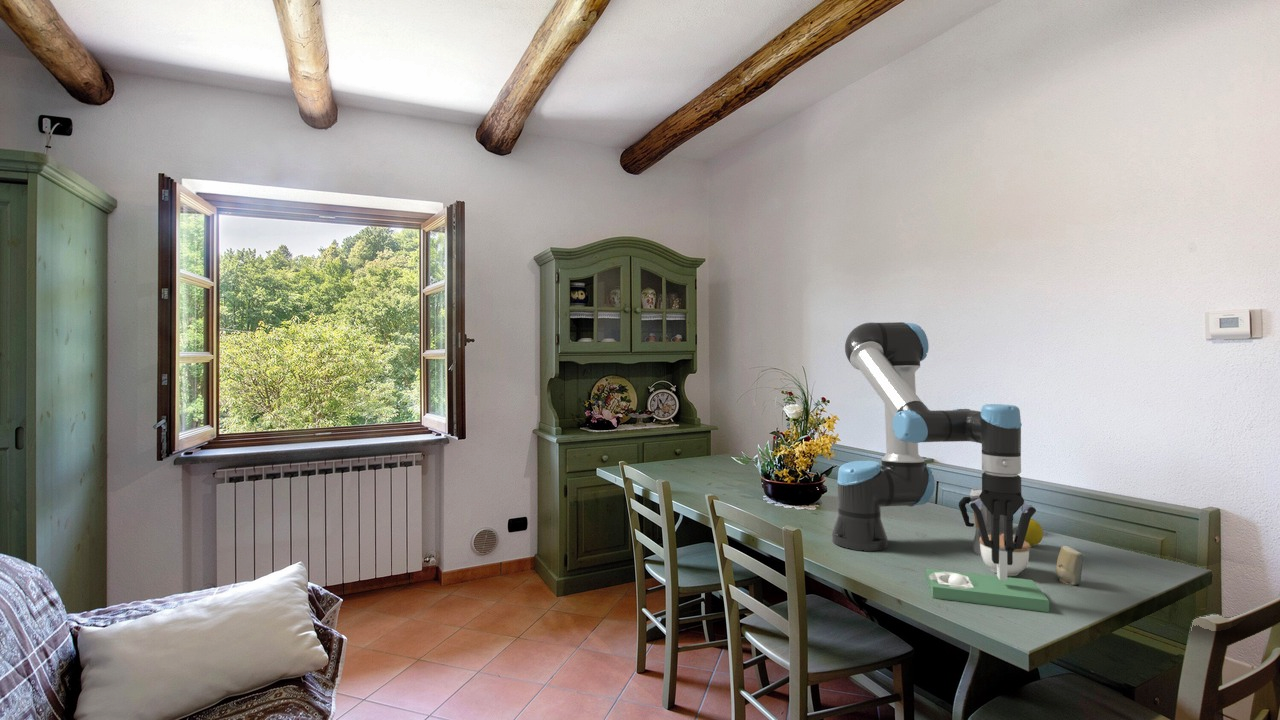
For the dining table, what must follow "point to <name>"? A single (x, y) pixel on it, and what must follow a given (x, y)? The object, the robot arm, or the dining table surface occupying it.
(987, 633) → the dining table surface
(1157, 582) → the dining table surface
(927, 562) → the dining table surface
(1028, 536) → the lemon
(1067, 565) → the beige rounded block
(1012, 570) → the lidded jar
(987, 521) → the coffeepot
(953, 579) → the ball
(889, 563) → the dining table surface
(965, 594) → the green flat slab
